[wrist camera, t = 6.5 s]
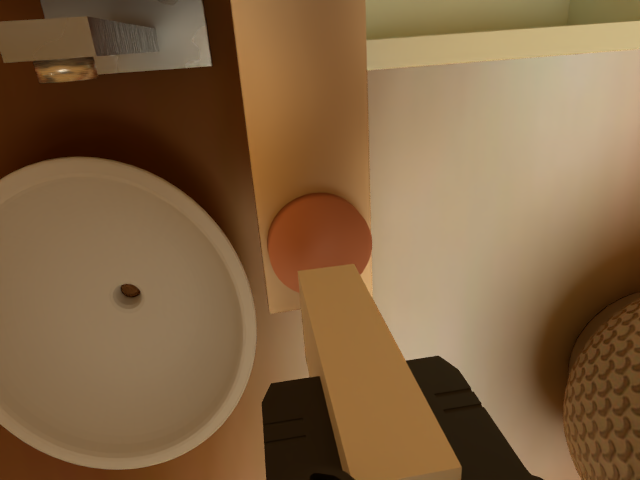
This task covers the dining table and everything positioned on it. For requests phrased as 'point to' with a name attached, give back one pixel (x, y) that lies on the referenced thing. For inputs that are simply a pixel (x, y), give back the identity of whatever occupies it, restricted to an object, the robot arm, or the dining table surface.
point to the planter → (606, 395)
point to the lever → (306, 136)
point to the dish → (116, 315)
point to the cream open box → (494, 30)
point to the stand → (108, 38)
